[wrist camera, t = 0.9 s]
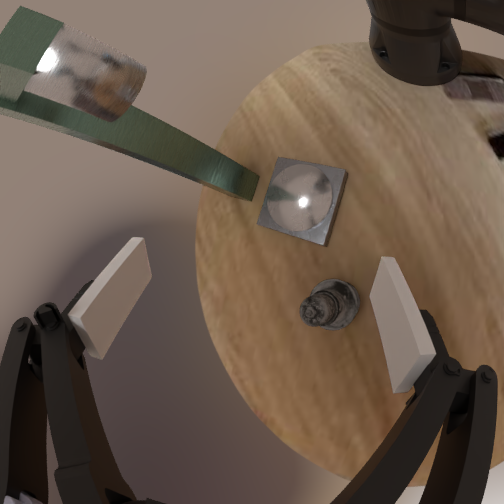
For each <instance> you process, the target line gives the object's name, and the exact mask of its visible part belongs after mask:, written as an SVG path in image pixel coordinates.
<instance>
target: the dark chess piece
mask: <svg viewBox="0 0 504 504" xmlns="http://www.w3.org/2000/svg"><path fill="white" fill-rule="evenodd" d="M359 306H360V298H359V294H358V292H357V290H356V289H355V288H354V287H353V286H352V285H351V284H349V283H347V282H344V281H341V280H339V279H328V280H324V281H323V282H321V283H319V284H318V285H317V286H316V287H314V289H313V290H312V292H311V294H310V297H308V298H306V299H305V300H304V301H303V302H302V304H301V306H300V317H301V319H302V320H303V322H304V323H305V324H307V325H309V326H313V327H316V326H320V327H322V328H324V329H326V330H339V329H342V328H344V327H346V326H347V325H348V324H350V323H351V321H352V320H353V319H354V317H355V315H356V314H357V312H358V310H359Z"/></svg>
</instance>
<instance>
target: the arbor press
mask: <svg viewBox="0 0 504 504" xmlns="http://www.w3.org/2000/svg"><path fill="white" fill-rule="evenodd" d="M146 73H147V70H146V66H144V65H143V64H141V63H139V62H138V61H136V60H134V59H133V58H131V57H129V56H127V55H126V54H124V53H122V52H120V51H118V50H117V49H115V48H112V47H111V46H109V45H107V44H105V43H103V42H101V41H100V40H98V39H96V38H94V37H91V36H90V35H87V34H85V33H83V32H81V31H79V30H77V29H75V28H73V27H71V26H68V25H66V24H64V23H62V22H60V21H58V20H55V19H53V18H51V17H48V16H46V15H43V14H41V13H38V12H35V11H33V10H30V9H28V8H25V7H22V6H20V7H19V8H18V9H17V11H16V12H15V14H14V15H13V16H12V18H11V19H10V21H9V22H8V23H7V25H6V26H5V28H4V29H3V31H2V33H1V34H0V114H2V115H6V116H9V117H12V118H16V119H19V120H23V121H26V122H29V123H33V124H36V125H39V126H43V127H46V128H49V129H52V130H55V131H58V132H61V133H64V134H67V135H71V136H73V137H76V138H79V139H82V140H85V141H88V142H91V143H94V144H97V145H100V146H102V147H105V148H108V149H111V150H114V151H116V152H119V153H122V154H125V155H128V156H130V157H133V158H136V159H138V160H141V161H144V162H146V163H149V164H152V165H154V166H157V167H159V168H162V169H165V170H167V171H170V172H172V173H175V174H178V175H180V176H182V177H185V178H187V179H190V180H192V181H195V182H197V183H200V184H202V185H205V186H207V187H209V188H212V189H214V190H217V191H219V192H222V193H224V194H226V195H229V196H231V197H235V198H239V199H243V200H247V201H252V198H253V195H254V192H255V189H256V186H257V183H258V180H259V176H258V175H256V174H255V173H253V172H252V171H250V170H248V169H247V168H245V167H243V166H242V165H240V164H238V163H237V162H235V161H233V160H232V159H230V158H228V157H227V156H225V155H223V154H221V153H220V152H218V151H216V150H215V149H213V148H211V147H209V146H208V145H205V144H204V143H202V142H200V141H198V140H197V139H195V138H193V137H191V136H190V135H188V134H186V133H184V132H182V131H180V130H179V129H177V128H175V127H173V126H171V125H169V124H167V123H165V122H163V121H162V120H160V119H158V118H156V117H154V116H152V115H150V114H148V113H146V112H144V111H142V110H140V109H138V108H136V107H134V106H132V105H131V104H132V103H133V102H134V100H135V98H136V97H137V95H138V93H139V92H140V90H141V88H142V86H143V83H144V81H145V77H146ZM347 176H348V173H347V171H346V170H345V169H340V168H335V167H331V166H326V165H321V164H315V163H310V162H305V161H299V160H293V159H287V158H281V157H278V159H277V162H276V165H275V168H274V171H273V175H272V178H271V181H270V184H269V187H268V190H267V193H266V196H265V200H264V203H263V206H262V209H261V212H260V215H259V218H258V221H257V224H258V225H261V226H264V227H267V228H270V229H273V230H276V231H280V232H283V233H286V234H289V235H292V236H295V237H298V238H301V239H305V240H308V241H311V242H314V243H317V244H320V245H323V246H326V247H327V244H328V240H329V237H330V234H331V231H332V228H333V224H334V221H335V218H336V214H337V211H338V208H339V204H340V201H341V197H342V194H343V190H344V187H345V183H346V179H347Z"/></svg>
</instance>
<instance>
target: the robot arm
mask: <svg viewBox="0 0 504 504" xmlns="http://www.w3.org/2000/svg"><path fill="white" fill-rule="evenodd" d="M366 1H367V4H368V7H369V9H370V12H371V15H372V19H371V27H370V36H369V43H370V47H371V50H372V54H373V56H374V59H375V60H376V62H377V63H378V64H379V66H380V67H381V68H382V69H384V70H385V71H386V72H387V73H389V74H390V75H392V76H394V77H396V78H398V79H400V80H403V81H406V82H409V83H413V84H418V85H439V84H443V83H446V82H449V81H451V80H452V79H454V78H455V77H456V76H457V75H458V73H459V72H460V69H461V65H462V50H461V46H460V44H459V41H458V38H457V36H456V33H455V31H454V29H453V26H452V24H451V18H454V19H458V20H461V21H464V22H468V23H471V24H474V25H477V26H480V27H483V28H486V29H489V30H492V31H494V32H497V33H499V34H502V35H504V0H366ZM151 278H152V275H151V270H150V265H149V261H148V256H147V251H146V246H145V242H144V238H139V237H132V238H131V239H130V241H129V242H128V243H127V244H126V245H125V246H124V247H123V248H122V249H121V251H120V252H119V253H118V254H117V255H116V256H115V257H114V259H113V260H112V261H111V262H110V263H109V264H108V265H107V266H106V268H105V269H104V270H103V271H102V273H101V274H100V275H99V276H98V277H97V278H96V280H95V281H94V280H91V281H90V282H88V283H87V284H85V285H84V286H83V287H82V289H81V290H80V291H79V293H77V294H76V296H75V298H74V299H72V301H71V302H70V303H69V305H68V306H67V307H66V308H65V310H64V311H63V312H62V313H61V314H60V312H59V310H58V308H57V306H56V305H55V304H54V303H50V302H49V303H45V304H43V305H41V306H39V307H38V308H37V310H36V311H35V312H34V318H35V320H36V321H37V323H38V325H33V323H32V322H31V320H30V319H29V318H28V317H23V318H20V319H18V320H17V321H16V322H15V323H14V324H13V326H12V328H11V331H10V334H9V337H8V340H7V344H6V347H5V351H4V354H3V357H2V361H1V365H0V504H48V476H47V454H46V433H47V414H48V419H49V425H50V430H51V435H52V440H53V444H54V448H55V453H56V457H57V461H58V465H59V467H58V469H56V470H55V473H54V476H55V481H56V484H57V487H58V490H59V493H60V496H61V499H62V502H63V504H165V503H161V502H158V501H155V500H152V499H149V498H147V499H146V500H137V499H136V497H135V495H134V493H133V491H132V490H131V488H130V487H129V485H128V484H127V483H126V482H125V480H124V479H123V477H122V475H121V473H120V471H119V468H118V466H117V464H116V462H115V459H114V456H113V454H112V451H111V448H110V446H109V443H108V440H107V437H106V435H105V432H104V429H103V426H102V423H101V419H100V417H99V413H98V410H97V406H96V403H95V399H94V395H93V392H92V388H91V384H90V380H89V375H88V371H87V366H86V362H85V357H84V355H83V351H84V350H85V348H86V350H87V351H88V353H89V355H90V356H93V357H96V358H99V359H103V357H104V356H105V354H106V352H107V350H108V348H109V346H110V345H111V343H112V341H113V340H114V338H115V336H116V334H117V333H118V331H119V329H120V327H121V326H122V324H123V323H124V321H125V319H126V318H127V316H128V314H129V313H130V311H131V309H132V308H133V306H134V305H135V303H136V301H137V300H138V298H139V297H140V295H141V293H142V292H143V290H144V289H145V287H146V285H147V284H148V283H149V281H150V279H151ZM369 297H370V300H371V303H372V307H373V310H374V314H375V318H376V321H377V325H378V329H379V333H380V337H381V341H382V345H383V349H384V353H385V357H386V362H387V366H388V371H389V375H390V380H391V385H392V390H393V393H404V392H408V391H409V390H410V389H411V388H412V386H413V385H414V388H415V393H414V394H413V395H412V397H411V398H410V399H409V400H408V401H407V402H406V405H407V406H406V407H405V409H404V410H403V412H402V414H401V415H400V417H399V418H398V420H397V421H396V423H395V424H394V426H393V427H392V429H391V430H390V432H389V433H388V435H387V436H386V438H385V439H384V440H383V442H382V443H381V445H380V446H379V447H378V449H377V450H376V451H375V453H374V454H373V455H372V457H371V458H370V459H369V460H368V462H367V463H366V464H365V465H364V467H363V468H362V469H361V470H360V471H359V473H358V474H357V475H356V476H355V477H354V478H353V480H352V481H351V482H350V483H349V484H348V485H347V486H346V488H345V489H344V490H343V491H342V492H341V493H340V494H339V495H338V496H337V497H336V498H335V499H334V500H333V501H332V502H331V503H330V504H395V502H396V501H397V500H398V498H399V497H400V496H401V494H402V493H403V491H404V490H405V488H406V487H407V486H408V484H409V483H410V481H411V480H412V478H413V476H414V475H415V473H416V472H417V470H418V468H419V467H420V465H421V463H422V462H423V460H424V458H425V457H426V455H427V453H428V451H429V449H430V448H431V446H432V444H433V442H434V440H435V438H436V436H437V434H438V432H439V430H440V428H441V426H442V424H443V428H442V432H441V436H440V440H439V444H438V448H437V452H436V455H435V459H434V462H433V466H432V469H431V472H430V475H429V478H428V481H427V484H426V486H425V489H424V492H423V495H422V497H421V500H420V502H419V504H481V502H482V499H483V495H484V491H485V488H486V483H487V479H488V474H489V470H490V464H491V459H492V453H493V446H494V438H495V429H496V416H497V375H496V373H495V371H494V370H493V369H492V368H491V367H490V366H488V365H481V366H479V368H478V369H477V370H476V371H470V370H466V369H462V366H461V365H460V363H459V362H458V361H457V360H456V359H454V358H452V357H449V355H448V352H447V350H446V347H445V345H444V342H443V340H442V337H441V335H440V334H439V330H438V328H437V327H436V323H435V321H434V319H433V317H432V316H431V315H430V313H429V312H428V311H427V310H419V309H418V306H417V304H416V302H415V300H414V297H413V295H412V293H411V291H410V289H409V287H408V284H407V282H406V280H405V278H404V276H403V274H402V272H401V270H400V268H399V266H398V264H397V262H396V260H395V258H394V257H384V256H382V257H381V260H380V264H379V267H378V270H377V274H376V277H375V280H374V283H373V286H372V289H371V292H370V295H369ZM28 358H30V362H29V363H28ZM443 422H444V423H443Z"/></svg>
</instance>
